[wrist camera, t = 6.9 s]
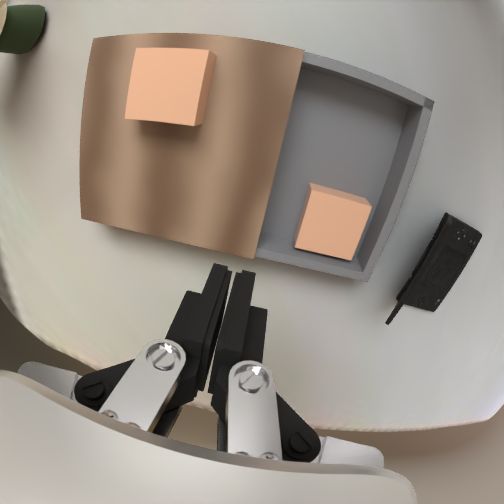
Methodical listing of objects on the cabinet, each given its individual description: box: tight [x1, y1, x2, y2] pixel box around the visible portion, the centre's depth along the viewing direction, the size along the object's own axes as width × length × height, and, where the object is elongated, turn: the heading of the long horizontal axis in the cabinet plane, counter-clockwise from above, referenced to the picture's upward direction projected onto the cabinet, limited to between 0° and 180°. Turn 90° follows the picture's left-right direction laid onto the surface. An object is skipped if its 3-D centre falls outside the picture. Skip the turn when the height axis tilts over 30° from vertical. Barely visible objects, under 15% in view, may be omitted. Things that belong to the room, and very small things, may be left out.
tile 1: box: [294, 183, 372, 260], centre depth 22 cm, size 5×5×2 cm
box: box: [255, 52, 434, 282], centre depth 20 cm, size 10×16×4 cm, turn 168°
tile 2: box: [125, 48, 217, 126], centre depth 15 cm, size 5×5×2 cm
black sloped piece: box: [385, 212, 482, 325], centre depth 23 cm, size 12×7×10 cm
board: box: [80, 33, 305, 259], centre depth 20 cm, size 16×16×4 cm
